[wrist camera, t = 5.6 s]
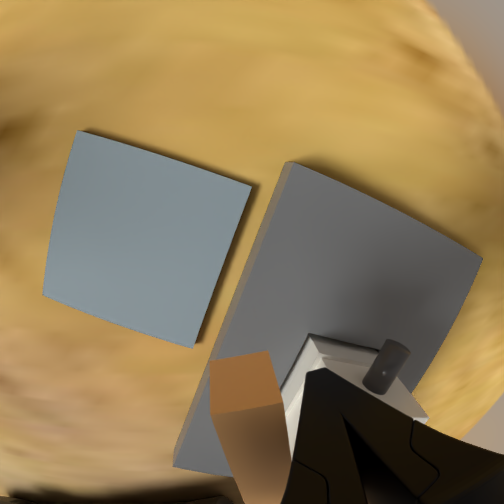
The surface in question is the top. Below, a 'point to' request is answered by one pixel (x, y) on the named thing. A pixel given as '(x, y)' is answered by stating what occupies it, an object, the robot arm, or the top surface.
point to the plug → (350, 375)
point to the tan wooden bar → (251, 425)
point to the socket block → (332, 290)
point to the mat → (140, 237)
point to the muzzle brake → (209, 503)
